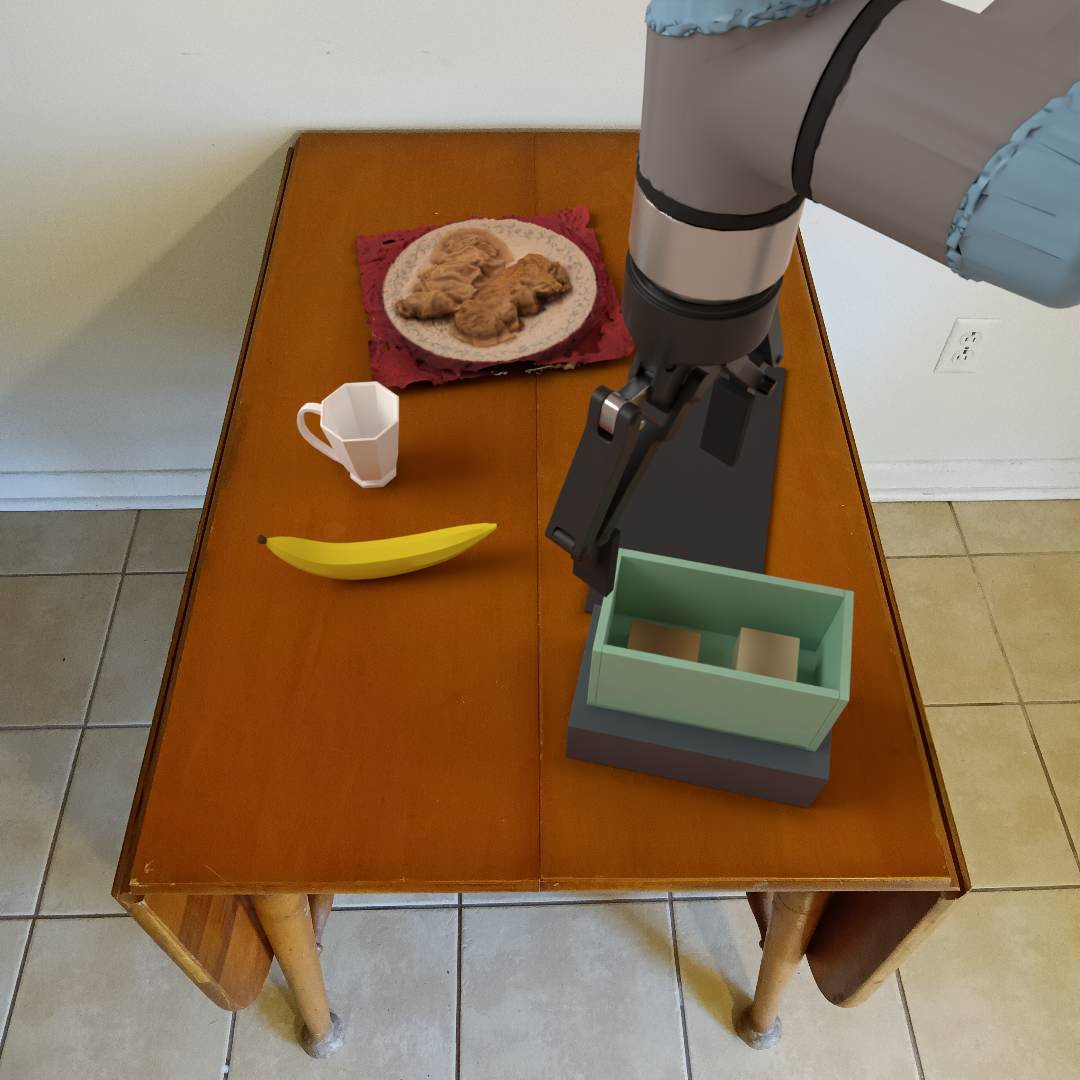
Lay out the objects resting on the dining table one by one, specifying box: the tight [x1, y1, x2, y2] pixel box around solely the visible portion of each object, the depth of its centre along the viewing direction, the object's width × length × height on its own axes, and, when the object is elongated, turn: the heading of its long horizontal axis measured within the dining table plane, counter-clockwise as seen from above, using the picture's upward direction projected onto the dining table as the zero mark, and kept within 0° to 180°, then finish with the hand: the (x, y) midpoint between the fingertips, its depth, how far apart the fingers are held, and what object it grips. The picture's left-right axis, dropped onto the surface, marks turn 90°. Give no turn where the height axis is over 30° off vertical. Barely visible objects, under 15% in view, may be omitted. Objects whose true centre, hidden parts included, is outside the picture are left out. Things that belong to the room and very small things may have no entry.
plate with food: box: [355, 203, 636, 389], centre depth 97 cm, size 24×26×3 cm
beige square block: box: [730, 627, 800, 682], centre depth 66 cm, size 4×4×4 cm
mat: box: [584, 365, 786, 614], centre depth 86 cm, size 14×31×1 cm, turn 168°
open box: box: [587, 548, 855, 752], centre depth 65 cm, size 16×8×8 cm, turn 77°
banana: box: [256, 522, 499, 581], centre depth 78 cm, size 3×19×6 cm, turn 97°
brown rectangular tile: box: [626, 620, 701, 663], centre depth 67 cm, size 5×4×2 cm
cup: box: [296, 381, 400, 489], centre depth 83 cm, size 7×10×8 cm
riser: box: [565, 604, 833, 809], centre depth 70 cm, size 18×10×6 cm, turn 77°
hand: (658, 515), depth 62 cm, fingers open, 13 cm apart
